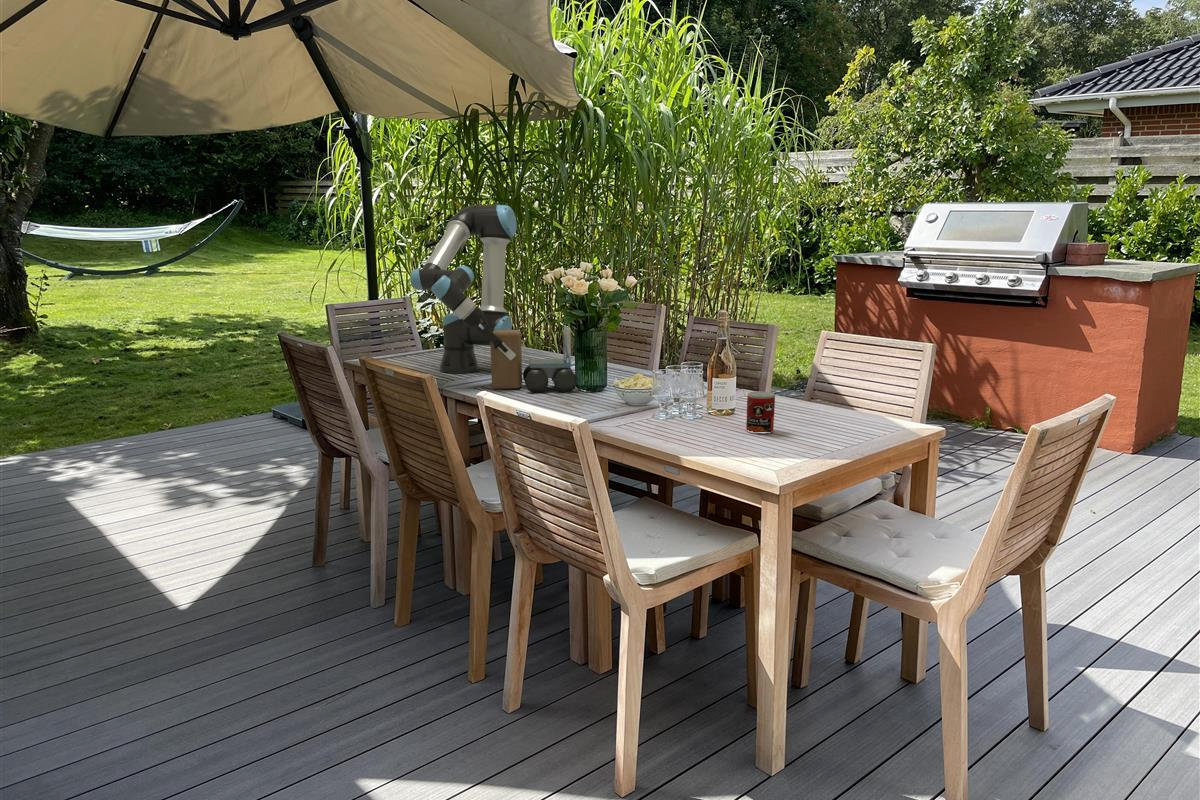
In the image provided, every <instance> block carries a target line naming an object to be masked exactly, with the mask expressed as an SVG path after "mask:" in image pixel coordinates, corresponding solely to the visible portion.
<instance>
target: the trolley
mask: <svg viewBox="0 0 1200 800" xmlns="http://www.w3.org/2000/svg"><path fill="white" fill-rule="evenodd" d="M571 328H572V327H571ZM571 328H570V327H568V326H566V325H564V324H563V358H544V359H542V358H541V359H540V358H539V359H537V358H536V359H533V358H531V359H529V358H528V365H527V366H526V367H525V368H524V369H523V371H522V380H523V381H524V384H525V387H526V389H527V390H528V391H529V392H530V393H533V394H540V393H541V394H542V392H544V391H545V390H546V389H547V388H548V387H549V379H551V381H552V382H553V384H554V386H555V389H556V390H557V391H559V392H561V393H563V392H568V393H570V392H571V393H572V391H574V390H575V388H576V387H577V384H578V382H577V383H576V380H577V381H578V377H577V375H576V373H574V372H573V369H572V368H571V367H572V363H571V357H572V356H571V351H572V350H571V349H572V348H571V345H572V344H571V337H572V335H571V333H572V331H571Z"/></svg>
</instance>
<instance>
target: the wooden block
mask: <svg viewBox="0 0 1200 800" xmlns="http://www.w3.org/2000/svg"><path fill="white" fill-rule="evenodd" d="M493 333H494V334H495V335H496V336H497V337H498V338H499V339H500V340H501V341H502V342H503V343H504V344H505V345H506V346H508V347H509V348H510V349H511V350H512V351H513V352H514V353H515V354H516V356H515V357H514V358H513V359H512V360H510V359H509V358H508V357H507V356H505V355H504V354H503V353H502V352H501V351H500V350H499V349H498V348H497V349H495V348H494V347H495V346H494V344H493V343H492V342H491V341H490V345H491V346H490V371H491V372H490V373H491V387H492V389H494V390H505V389H506V390H510V389H511V390H512V389H513V390H514V389H517V390H518V389H520V388H521V386H522V384H523V358H522V356H523V355H522V332H521V330H520V329H512V330H495V331H493Z"/></svg>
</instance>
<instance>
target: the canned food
mask: <svg viewBox="0 0 1200 800" xmlns="http://www.w3.org/2000/svg"><path fill="white" fill-rule="evenodd" d="M775 395H776V394H775V393H773V392H770V391H769V392H768V391H762V390H761V391H760V390H758V391H749V392H748V393H747V396H746V397H747V398H746V400H747V401H746V423H745V424H746V426H745V428H746V431H747V430H749V431H753V432H771V431H774V426H775V425H774V424H775V406H776V396H775Z"/></svg>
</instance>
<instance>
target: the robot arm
mask: <svg viewBox="0 0 1200 800" xmlns="http://www.w3.org/2000/svg"><path fill="white" fill-rule="evenodd" d="M517 225H518V224H517V218H516V215H515V212H514V210H513V209H512V208H511V207H510V206H509V205H504V204H473V205H472V204H471V205H468V206H466V207H464V208H462V209H460V210H459V211H457V213H455V214H454V215H453V216H451V218H450V219H449V220H448V222H447V224H446V227H445V233H444V234H443V235H442V237H441V239H440V240H439V241H438V243H437V245H436V246H435V247H434V249H433V251H432V252H431V254H430V256H429V257H428V259H427V261H426V262H425V263H424V265H423V267H422V268H414V269H412V271H411V272H410V276H409V281H410V284H411V287H412V288H413V290H418V291H431V292H432V293H433V294H434V296H436V298H437V300H439V301H440V302H442V303H443V305H445V306H446V307H447V308H448V309H449V310H450V311H451V312H452V313H446V314H445V315H444V316H443V321H442V322H443V324H442V327H443V354H442V358H441V360H440V364H439V371H440V372H442V373H445V372H448V373H447V374H471V373H475V372H476V373H477V372H479V369H480V368H479V365H480V364H479V362H478V360H477V356H476V353H475V348H474V347H475V346H488V347H491V345H490V341H491V342H492V343H493V344H494V346H495V347H494V348H495V349H497V348H498V349H499V350H500V351H501V352H502V353H503V354H504V355H505V356H507V357H508V358H509V359H510V360H512V359H513V358H514V357H515V356H516V354H515V353H514V352H513V351H512V350H511V349H510V348H509V347H508V346H506V345H505V344H504V343H503V342H502V341H501V340H500V339H499V338H498V337H497V336H496V335H495V334H494V333H493V331H495V330H513V323H512V322H513V320H512V318H511V317H510V316H508V311H507V310H506V309H505V308H504V302H505V301H504V300H505V278H506V255H507V245H508V244H510V243H511V237H513V236H515V235H516V233H517V227H518V226H517ZM473 236H480V238H479V240H480V242H482V243H483V256H482V258H483V259H482V276H481V277H482V279H481V303H480V307H479V306H476V303H475V302H474V301H473V300H472V299H471V298H470V297H469V296H468V295H466V293H465V292H466V291H467V290H468V288H469V287H471V284H472V283H473V281H474V279H475V275H474V271H473V270H472V269H471V268H470V267H469V266H467V265H459V266H457V267H456V268H455V269H448V268H449V266H450V264H451V262H452V261H453V259H454V258H455V257H456V254H457V253H458V251H459V250H460V248H461V246H462V245H463V243H464V242H467V241H468V240H469V239H470V237H473Z"/></svg>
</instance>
